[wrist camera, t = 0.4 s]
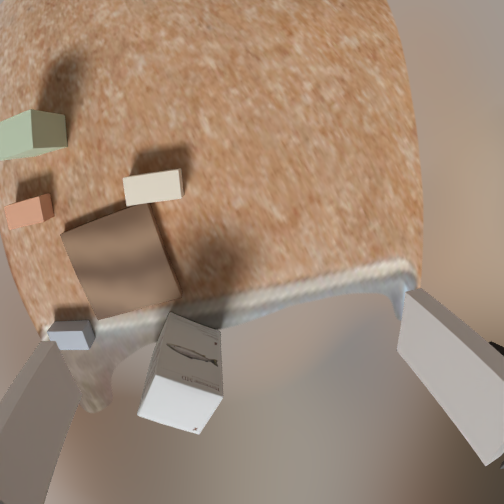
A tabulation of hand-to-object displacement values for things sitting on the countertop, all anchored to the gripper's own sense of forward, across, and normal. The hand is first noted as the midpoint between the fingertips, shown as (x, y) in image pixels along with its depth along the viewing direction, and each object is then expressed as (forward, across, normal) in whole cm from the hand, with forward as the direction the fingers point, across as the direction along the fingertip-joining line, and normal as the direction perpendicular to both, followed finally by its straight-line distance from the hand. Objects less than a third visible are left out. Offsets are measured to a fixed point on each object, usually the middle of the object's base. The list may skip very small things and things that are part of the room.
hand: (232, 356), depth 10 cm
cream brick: (+26, -7, +4) cm, 27 cm away
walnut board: (+26, -13, -4) cm, 29 cm away
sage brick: (+26, -19, +13) cm, 35 cm away
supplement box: (+26, -7, -17) cm, 32 cm away
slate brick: (+26, -23, -13) cm, 37 cm away
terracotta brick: (+26, -24, +4) cm, 36 cm away
